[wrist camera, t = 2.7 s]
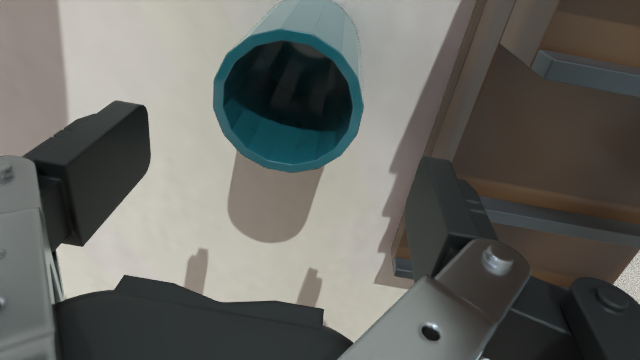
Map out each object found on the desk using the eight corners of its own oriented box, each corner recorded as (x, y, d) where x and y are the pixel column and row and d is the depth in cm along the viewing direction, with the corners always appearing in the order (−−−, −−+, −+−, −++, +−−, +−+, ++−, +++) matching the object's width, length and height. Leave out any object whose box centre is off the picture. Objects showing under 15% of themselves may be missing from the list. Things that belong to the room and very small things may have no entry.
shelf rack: (390, 249, 30) (410, 429, 19) (539, -182, 17) (850, -361, 6) (590, 284, 30) (718, 479, 19) (882, -111, 17) (1713, -166, 7)
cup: (254, 88, 24) (211, 158, 17) (262, -16, 21) (215, 15, 14) (348, 105, 24) (345, 183, 17) (370, 5, 21) (378, 46, 14)
